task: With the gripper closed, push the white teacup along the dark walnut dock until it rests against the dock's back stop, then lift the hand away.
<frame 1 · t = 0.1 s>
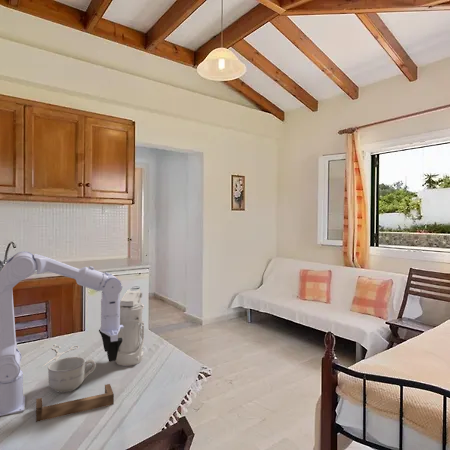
hand: (110, 355, 113), 10 cm above the table, tool pointing down, fingers open, 7 cm apart
teacup: (72, 387, 113), on the table
dock: (75, 406, 102), on the table
scissors: (58, 356, 135), on the table
lantern: (130, 359, 134), on the table
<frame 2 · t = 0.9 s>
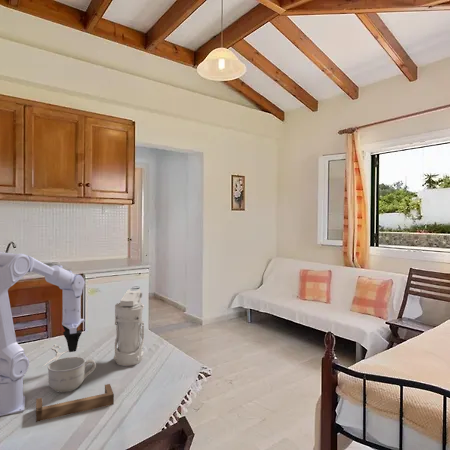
hand: (71, 347, 122), 9 cm above the table, tool pointing down, fingers open, 7 cm apart
nothing on the table moved.
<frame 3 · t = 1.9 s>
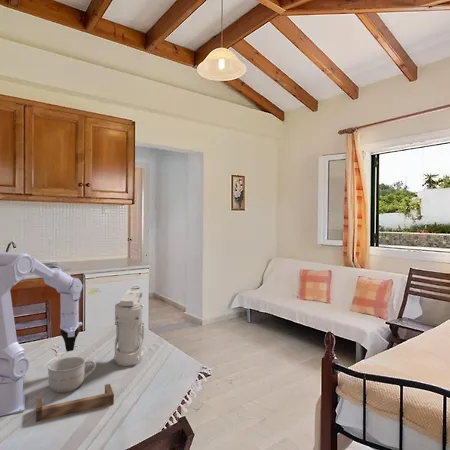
hand: (69, 350, 123), 7 cm above the table, tool pointing down, fingers closed
nothing on the table moved.
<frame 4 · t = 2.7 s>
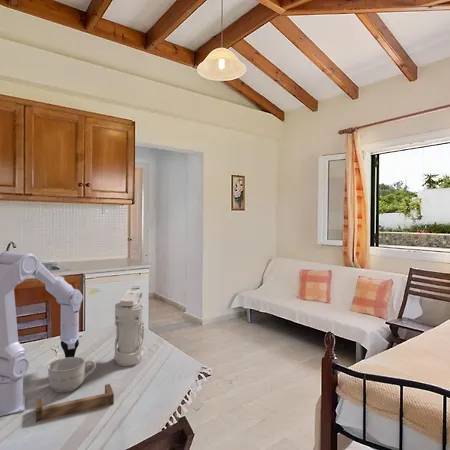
hand: (69, 361, 122), 3 cm above the table, tool pointing down, fingers closed
nothing on the table moved.
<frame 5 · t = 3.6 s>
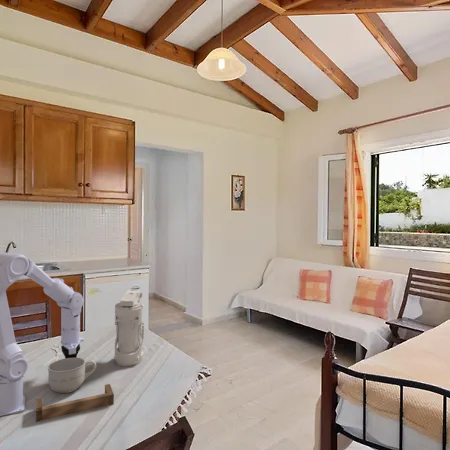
hand: (70, 367, 118), 3 cm above the table, tool pointing down, fingers closed
teacup: (72, 388, 112), on the table, touching gripper
everything else where it was.
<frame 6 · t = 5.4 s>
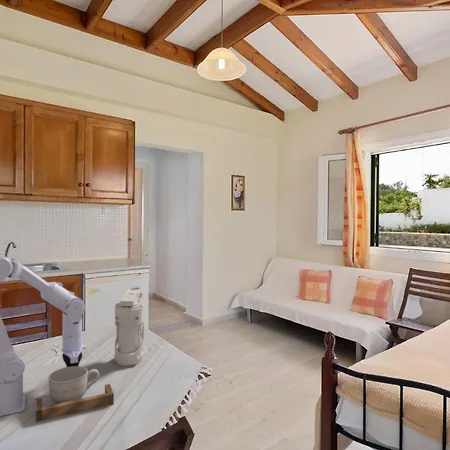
hand: (72, 376, 112), 3 cm above the table, tool pointing down, fingers closed
teacup: (74, 398, 106), on the table, touching gripper
everything else where it was.
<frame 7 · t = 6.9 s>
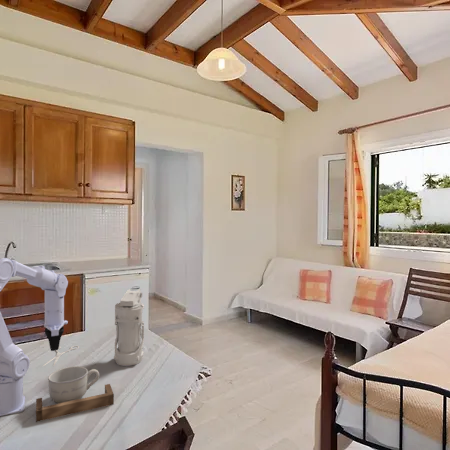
hand: (54, 349, 118), 9 cm above the table, tool pointing down, fingers closed
teacup: (74, 399, 106), on the table
everything else where it was.
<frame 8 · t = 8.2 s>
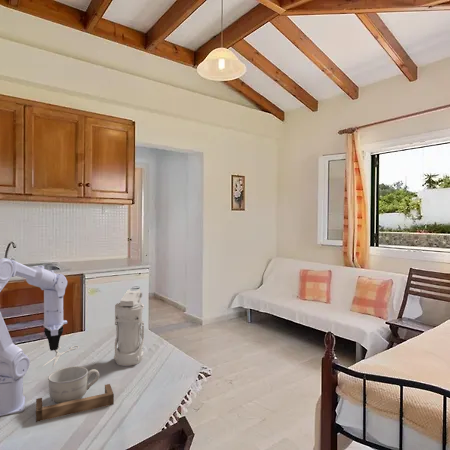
hand: (53, 349, 118), 9 cm above the table, tool pointing down, fingers closed
nothing on the table moved.
at the end: teacup 0.4 cm from the target spot, on the table; teacup tilted 0°; teacup moved 7.4 cm from its start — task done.
